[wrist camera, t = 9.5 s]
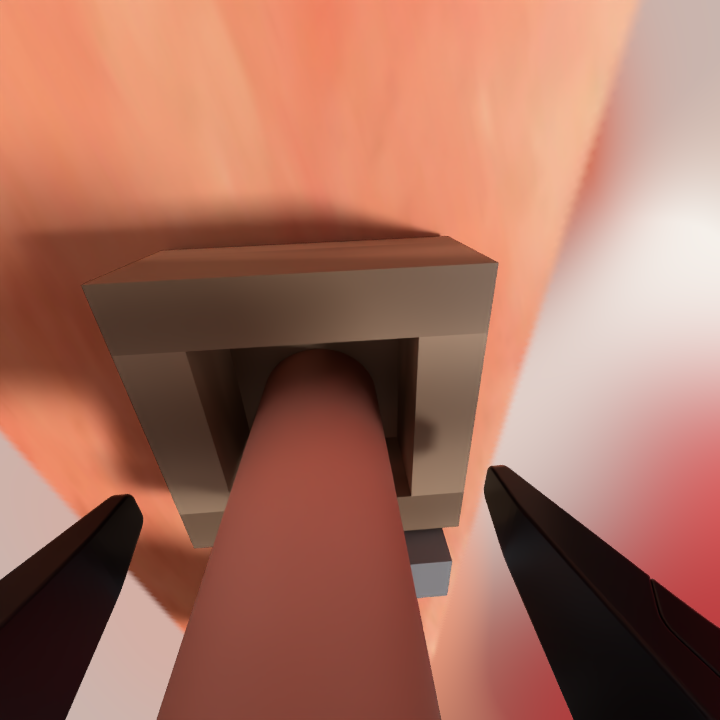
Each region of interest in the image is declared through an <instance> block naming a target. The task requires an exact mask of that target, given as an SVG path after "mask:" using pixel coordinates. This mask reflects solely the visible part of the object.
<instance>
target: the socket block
mask: <svg viewBox="0 0 720 720" xmlns="http://www.w3.org/2000/svg"><path fill="white" fill-rule="evenodd" d="M497 269H498V262H496V261H494V260H492V259H490V258H489V257H487V256H485V255H483V254H481V253H479V252H477V251H475V250H473V249H471V248H470V247H468V246H466V245H464V244H462V243H460V242H458V241H456V240H454V239H452V238H451V237H449V236H441V237H421V238H401V239H381V240H361V241H341V242H321V243H300V244H280V245H260V246H240V247H220V248H200V249H180V250H162V251H159V252H157V253H155V254H152V255H150V256H148V257H145V258H143V259H140V260H138V261H136V262H133V263H131V264H129V265H126V266H124V267H122V268H119V269H117V270H115V271H112V272H110V273H108V274H105V275H103V276H101V277H98V278H96V279H94V280H91V281H89V282H87V283H84V284H82V285H81V286H82V289H83V291H84V293H85V296H86V298H87V300H88V303H89V305H90V307H91V310H92V312H93V314H94V317H95V319H96V321H97V324H98V326H99V328H100V330H101V333H102V335H103V337H104V340H105V342H106V344H107V347H108V349H109V351H110V354H111V356H112V358H113V361H114V363H115V365H116V368H117V370H118V372H119V375H120V377H121V379H122V382H123V384H124V386H125V389H126V391H127V393H128V396H129V398H130V400H131V403H132V405H133V407H134V409H135V412H136V414H137V416H138V419H139V421H140V423H141V426H142V428H143V430H144V433H145V435H146V437H147V440H148V442H149V444H150V447H151V449H152V451H153V454H154V456H155V458H156V461H157V463H158V465H159V468H160V470H161V472H162V475H163V477H164V479H165V482H166V484H167V486H168V489H169V491H170V493H171V495H172V498H173V500H174V502H175V505H176V507H177V509H178V512H179V514H180V516H181V519H182V521H183V523H184V526H185V528H186V530H187V533H188V535H189V537H190V540H191V542H192V544H193V547H194V548H205V547H213V545H214V542H215V538H216V535H217V532H218V529H219V526H220V523H221V520H222V517H223V514H224V511H225V508H226V505H227V502H228V499H229V495H230V492H231V489H232V486H233V483H234V480H235V477H236V474H237V471H238V468H239V465H240V462H241V459H242V456H243V452H244V449H245V446H246V443H247V440H248V437H249V434H250V431H251V428H252V425H253V422H254V419H255V416H256V413H257V409H258V406H259V403H260V400H261V397H262V394H263V391H264V388H265V385H266V382H267V379H268V377H269V375H270V374H271V372H272V371H273V369H274V368H275V367H276V366H277V365H278V364H279V363H280V362H281V361H283V360H284V359H286V358H287V357H289V356H291V355H293V354H295V353H298V352H301V351H305V350H310V349H329V350H334V351H339V352H341V353H344V354H347V355H349V356H350V357H352V358H354V359H355V360H357V361H358V362H359V363H360V364H362V365H363V366H364V367H365V369H366V370H367V371H368V372H369V374H370V376H371V378H372V380H373V382H374V386H375V390H376V395H377V400H378V405H379V410H380V415H381V420H382V425H383V430H384V435H385V440H386V445H387V450H388V455H389V460H390V465H391V470H392V475H393V480H394V485H395V490H396V495H397V500H398V505H399V510H400V515H401V520H402V525H403V530H404V531H408V530H420V529H432V528H444V527H456V526H459V519H460V512H461V506H462V499H463V493H464V486H465V480H466V473H467V466H468V460H469V453H470V447H471V440H472V434H473V427H474V420H475V414H476V407H477V401H478V394H479V388H480V381H481V374H482V368H483V361H484V355H485V348H486V342H487V335H488V328H489V322H490V315H491V309H492V302H493V296H494V289H495V282H496V276H497Z"/></svg>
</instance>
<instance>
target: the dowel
mask: <svg viewBox="0 0 720 720" xmlns="http://www.w3.org/2000/svg"><path fill="white" fill-rule="evenodd" d="M157 720H441V716H440V711H439V706H438V701H437V696H436V691H435V686H434V681H433V676H432V671H431V666H430V661H429V656H428V651H427V646H426V641H425V636H424V631H423V626H422V621H421V616H420V611H419V606H418V601H417V596H416V591H415V586H414V581H413V576H412V571H411V566H410V561H409V556H408V551H407V545H406V540H405V535H404V530H403V525H402V520H401V515H400V510H399V505H398V500H397V495H396V490H395V485H394V480H393V475H392V470H391V465H390V460H389V455H388V450H387V445H386V440H385V435H384V430H383V425H382V420H381V415H380V410H379V405H378V400H377V395H376V390H375V386H374V382H373V380H372V378H371V376H370V374H369V372H368V371H367V370H366V369H365V367H364V366H363V365H362V364H360V363H359V362H358V361H357V360H355V359H354V358H352V357H350V356H349V355H347V354H344V353H341V352H339V351H334V350H329V349H310V350H305V351H301V352H298V353H295V354H293V355H291V356H289V357H287V358H286V359H284V360H283V361H281V362H280V363H279V364H278V365H277V366H276V367H275V368H274V369H273V371H272V372H271V374H270V375H269V377H268V379H267V382H266V385H265V388H264V391H263V394H262V397H261V400H260V403H259V406H258V409H257V413H256V416H255V419H254V422H253V425H252V428H251V431H250V434H249V437H248V440H247V443H246V446H245V449H244V452H243V456H242V459H241V462H240V465H239V468H238V471H237V474H236V477H235V480H234V483H233V486H232V489H231V492H230V495H229V499H228V502H227V505H226V508H225V511H224V514H223V517H222V520H221V523H220V526H219V529H218V532H217V535H216V538H215V542H214V545H213V548H212V551H211V554H210V557H209V560H208V563H207V566H206V569H205V572H204V575H203V578H202V581H201V585H200V588H199V591H198V594H197V597H196V600H195V603H194V606H193V609H192V612H191V615H190V618H189V621H188V625H187V628H186V631H185V634H184V637H183V640H182V643H181V646H180V649H179V652H178V655H177V658H176V661H175V665H174V668H173V671H172V674H171V677H170V680H169V683H168V686H167V689H166V692H165V695H164V699H163V701H162V705H161V707H160V711H159V714H158V717H157Z"/></svg>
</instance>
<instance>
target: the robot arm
mask: <svg viewBox="0 0 720 720" xmlns="http://www.w3.org/2000/svg"><path fill="white" fill-rule="evenodd" d="M484 495H485V499H486V502H487V505H488V509H489V512H490V515H491V518H492V521H493V524H494V528H495V531H496V534H497V537H498V540H499V544H500V546H501V550H502V553H503V556H504V558H505V561H506V563H507V566H508V568H509V571H510V573H511V575H512V577H513V580H514V582H515V585H516V587H517V589H518V591H519V594H520V596H521V598H522V601H523V603H524V606H525V608H526V610H527V612H528V615H529V617H530V619H531V622H532V624H533V626H534V629H535V631H536V633H537V636H538V638H539V640H540V642H541V645H542V647H543V650H544V652H545V654H546V657H547V659H548V661H549V664H550V666H551V668H552V671H553V673H554V675H555V678H556V680H557V682H558V685H559V687H560V689H561V692H562V694H563V696H564V699H565V701H566V703H567V705H568V708H569V710H570V713H571V715H572V717H573V720H720V628H719V627H717V626H716V625H714V624H713V623H712V622H710V621H709V620H707V619H706V618H704V617H703V616H702V615H701V614H699V613H698V612H697V611H695V610H694V609H693V608H691V607H690V606H688V605H687V604H686V603H684V602H683V601H682V600H680V599H679V598H678V597H676V596H675V595H674V594H672V593H671V592H670V591H668V590H667V589H666V588H665V587H663V586H662V585H660V584H659V583H658V582H657V581H656V580H654V579H650V577H649V575H648V574H646V573H644V571H642V570H641V569H640V568H638V567H637V566H636V565H635V564H633V563H632V562H631V561H629V560H628V559H627V558H625V557H624V556H623V555H621V554H620V553H619V552H618V551H616V550H615V549H614V548H612V547H611V546H610V545H608V544H607V543H606V542H605V541H603V540H602V539H600V538H599V537H598V536H597V535H596V534H594V533H593V532H592V531H590V530H589V529H588V528H586V527H585V526H584V525H583V524H581V523H580V522H579V521H577V520H576V519H575V518H573V517H572V516H571V515H570V514H568V513H567V512H566V511H564V510H563V509H562V508H560V507H559V506H558V505H557V504H555V503H554V502H553V501H551V500H550V499H549V498H547V497H546V496H545V495H543V494H542V493H541V492H540V491H538V490H537V489H535V488H534V487H533V486H532V485H530V484H529V483H528V482H526V481H525V480H524V479H523V478H521V477H520V476H519V475H517V474H516V473H515V472H514V471H512V470H511V469H510V468H508V467H507V466H504V465H497V466H490V467H489V468H488V470H487V475H486V480H485V485H484ZM142 525H143V515H142V513H141V511H140V509H139V507H138V505H137V503H136V501H135V499H134V497H133V496H132V495H130V494H123V495H114V496H111V497H110V498H108V499H107V500H105V501H104V502H103V503H101V504H100V505H99V506H97V507H96V508H95V509H93V510H92V511H91V512H89V513H88V514H87V515H85V516H84V517H83V518H82V519H80V520H79V521H78V522H76V523H75V524H74V525H72V526H71V527H70V528H68V529H67V530H66V531H64V532H63V533H62V534H61V535H59V536H58V537H56V538H55V539H54V540H53V541H51V542H50V543H49V544H47V545H46V546H45V547H43V548H42V549H41V550H39V551H38V552H37V553H35V554H34V555H33V556H31V557H30V558H29V559H27V560H26V561H25V562H24V563H22V564H21V565H19V566H18V567H17V568H16V569H14V570H13V571H11V572H10V573H9V574H7V575H6V576H5V577H4V578H2V579H1V580H0V720H65V719H66V717H67V715H68V712H69V710H70V708H71V705H72V703H73V700H74V698H75V696H76V694H77V691H78V689H79V687H80V684H81V682H82V680H83V678H84V675H85V673H86V670H87V668H88V666H89V664H90V661H91V659H92V657H93V654H94V652H95V650H96V648H97V645H98V643H99V641H100V638H101V636H102V634H103V631H104V629H105V627H106V624H107V622H108V620H109V617H110V615H111V613H112V611H113V608H114V605H115V604H116V601H117V599H118V596H119V594H120V592H121V589H122V586H123V583H124V580H125V578H126V574H127V571H128V568H129V565H130V562H131V559H132V556H133V553H134V550H135V547H136V544H137V541H138V538H139V535H140V532H141V529H142Z"/></svg>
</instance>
